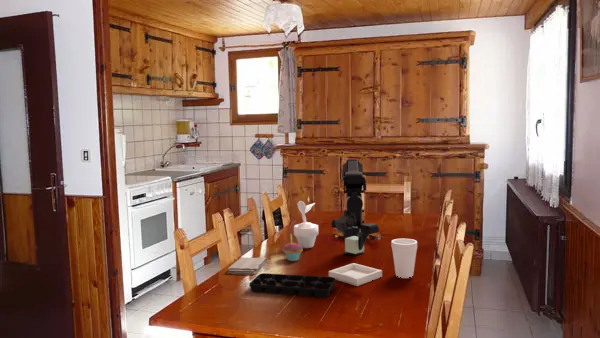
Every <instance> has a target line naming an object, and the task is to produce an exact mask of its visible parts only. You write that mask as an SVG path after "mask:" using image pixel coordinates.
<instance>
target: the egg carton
mask: <svg viewBox="0 0 600 338" xmlns="http://www.w3.org/2000/svg"><path fill="white" fill-rule="evenodd" d="M336 281H337V280H335V278H333V277H329V276H320V275H319V276H318V275H299V274H297V275H296V274H284V273H266V272H264V273H259V274H258V275H257V276H255V278H254V279H252V281H250V282H249V287H250V291H251V292H252V293H256V294H263V293H265V292H266V294H269V295H270V294H271V295H279V294H281V293H282V295H285V296H296V295H298V296H299V297H312V296H314V297H315V298H321V299H323V298H324V299H326V298H329V297H330V294H331V292H332V291H334V289H335V284H336ZM277 284H279V285H277ZM306 286H309V287H306ZM324 287H325V288H324Z"/></svg>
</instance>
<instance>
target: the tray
mask: <svg viewBox="0 0 600 338" xmlns="http://www.w3.org/2000/svg"><path fill="white" fill-rule="evenodd" d="M328 277H333V278H335V281H339V282H342V283H346V284H349V285H353V286H354V287H355V286H356V287H359V286H361V285H364V284H365V285H366V284H367V283H369V282H372V280H373V281H375V280H378V279H381V278H382V277H383V270H382V269H377V268H374V267H371V266H370V267H369V266H368V265H367V266H366V265H362V264H358V263H354V262H353V263H349V264H346V265H344V266H340V267H337V268H334V269H332V270H328ZM380 277H381V278H380Z"/></svg>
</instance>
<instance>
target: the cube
mask: <svg viewBox="0 0 600 338" xmlns="http://www.w3.org/2000/svg"><path fill="white" fill-rule="evenodd" d="M344 252H349V253H354V254H357V253H360V252H365V244H364V245H363V248H362V250H359V246H358V237H357V236H352V237H348V238H345V241H344Z"/></svg>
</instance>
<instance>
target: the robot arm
mask: <svg viewBox="0 0 600 338" xmlns="http://www.w3.org/2000/svg"><path fill="white" fill-rule="evenodd" d="M341 167H342V178H343V194H345V196H346V197H345V199H346V201H345V202H346V208H345V209H344V210H343V215H341V216H340V217H338V218H335V219H332V220H331V224H330V225H331V228H334V229H336V230H337V231H339V232H340V233H341V234H342V235H343V241H344V242H345V238H348V237H352V236H357V237H358V246H359V250H362V248H363V245H364V246H365V243H366V241H367V239H368V237H369V236H370V235H373V234H375V233H379V232H380V230H379V229H380V227H379V225H378V224H377V223H371V222H369V223H365V220H363V213H365V209H363V207H364V202H363V195H362V194H366V191H367V179H366V178H365V176H364V168H363V167H364V166H363V164H362V163H361V162H360V159H357V158H348V159H346V162H345V163H343V164H342V166H341ZM364 252H365V251H363V252H360V253H357V254H354V253H349V252H345V251H343V254H344V255H349V256H353V257H355V256H358V255H363V254H365V253H364Z"/></svg>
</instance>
